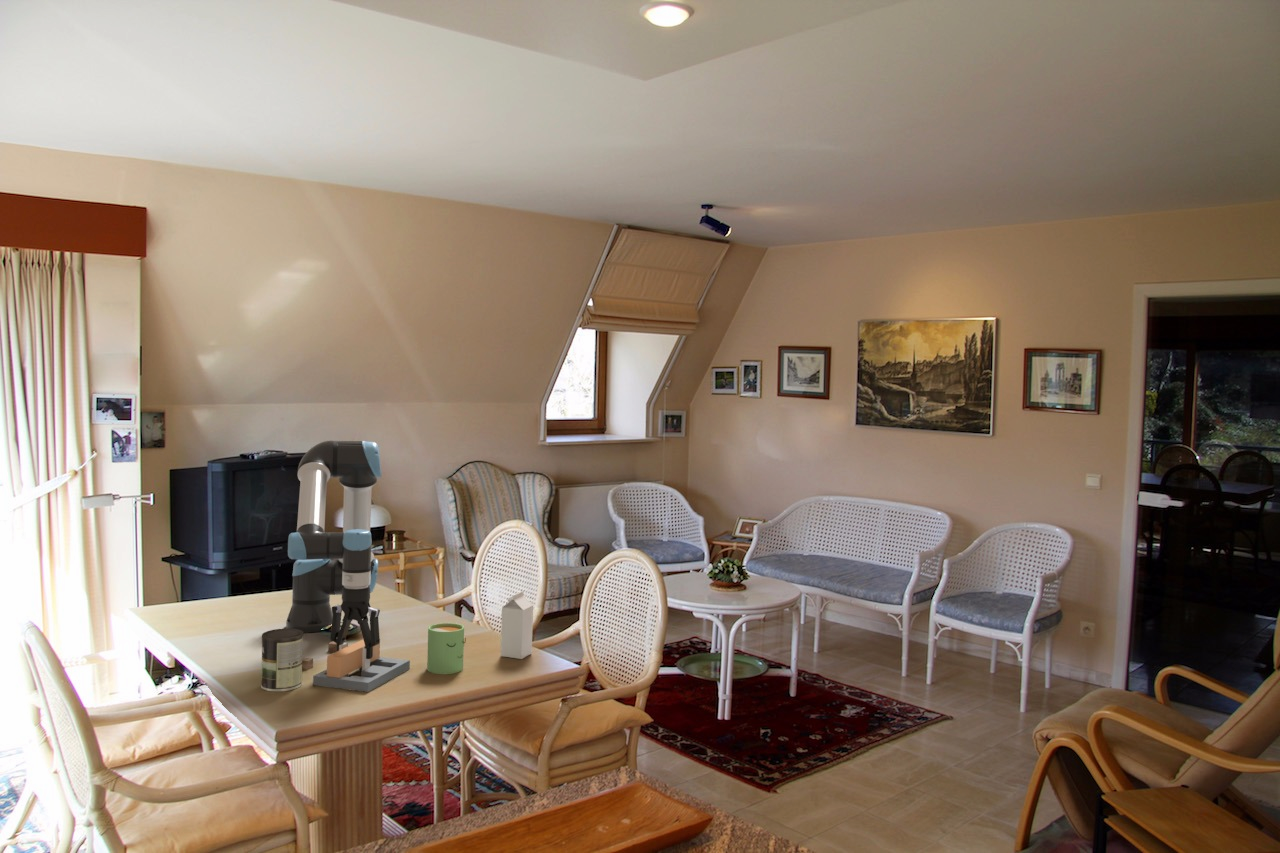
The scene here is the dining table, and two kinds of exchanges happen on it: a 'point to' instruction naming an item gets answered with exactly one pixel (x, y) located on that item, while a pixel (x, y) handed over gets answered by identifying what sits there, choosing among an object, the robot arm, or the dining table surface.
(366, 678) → the board with u-shaped cutout
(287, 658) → the coffee can
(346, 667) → the strip
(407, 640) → the dining table surface
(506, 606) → the milk carton
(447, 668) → the mug
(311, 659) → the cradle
